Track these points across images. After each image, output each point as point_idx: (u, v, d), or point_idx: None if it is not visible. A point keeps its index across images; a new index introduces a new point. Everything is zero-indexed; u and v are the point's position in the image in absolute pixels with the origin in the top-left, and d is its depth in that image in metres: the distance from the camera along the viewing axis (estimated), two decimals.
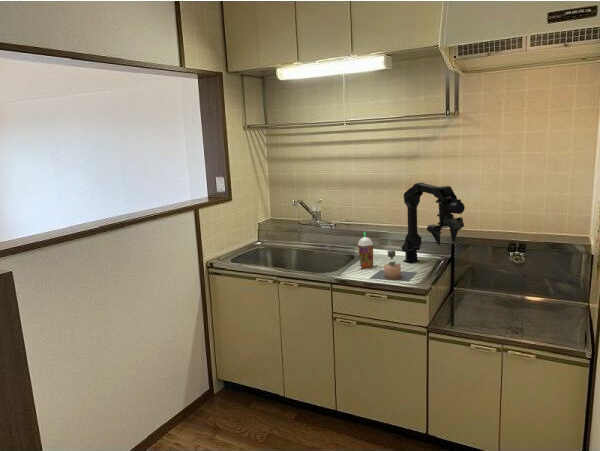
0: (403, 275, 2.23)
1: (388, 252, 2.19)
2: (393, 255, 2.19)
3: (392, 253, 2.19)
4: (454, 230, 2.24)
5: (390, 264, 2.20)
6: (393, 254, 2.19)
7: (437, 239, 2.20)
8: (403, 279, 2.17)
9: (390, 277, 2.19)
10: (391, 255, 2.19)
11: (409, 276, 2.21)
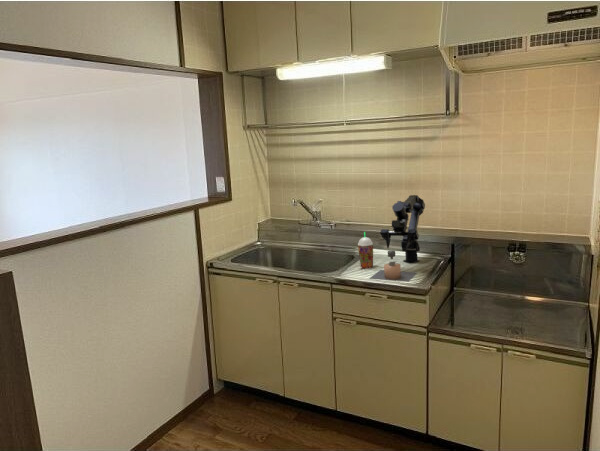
0: (403, 275, 2.23)
1: (388, 252, 2.19)
2: (393, 255, 2.19)
3: (392, 253, 2.19)
4: None
5: (390, 264, 2.20)
6: (393, 254, 2.19)
7: None
8: (403, 279, 2.17)
9: (390, 277, 2.19)
10: (391, 255, 2.19)
11: (409, 276, 2.21)
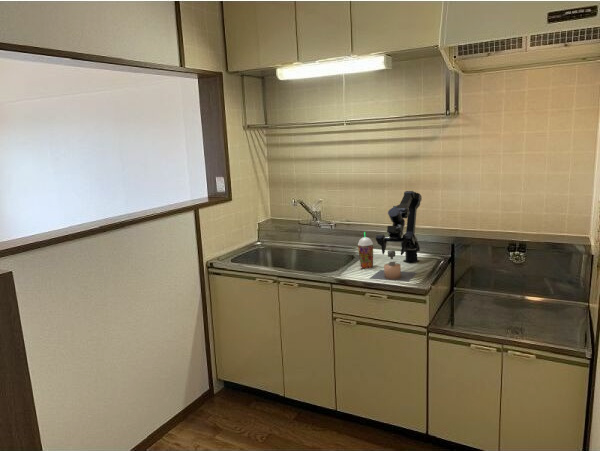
0: (403, 275, 2.23)
1: (388, 252, 2.19)
2: (393, 255, 2.19)
3: (392, 253, 2.19)
4: None
5: (390, 264, 2.20)
6: (393, 254, 2.19)
7: None
8: (403, 279, 2.17)
9: (390, 277, 2.19)
10: (391, 255, 2.19)
11: (409, 276, 2.21)
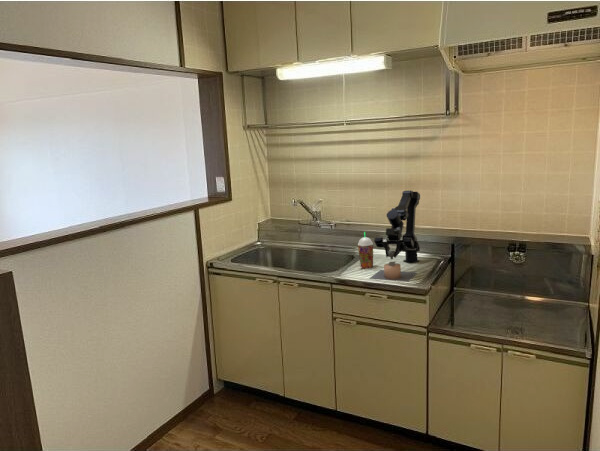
0: (403, 275, 2.23)
1: (388, 252, 2.19)
2: (393, 255, 2.19)
3: (392, 253, 2.19)
4: None
5: (390, 264, 2.20)
6: (393, 254, 2.19)
7: (385, 251, 2.22)
8: (403, 279, 2.17)
9: (390, 277, 2.19)
10: (391, 255, 2.19)
11: (409, 276, 2.21)
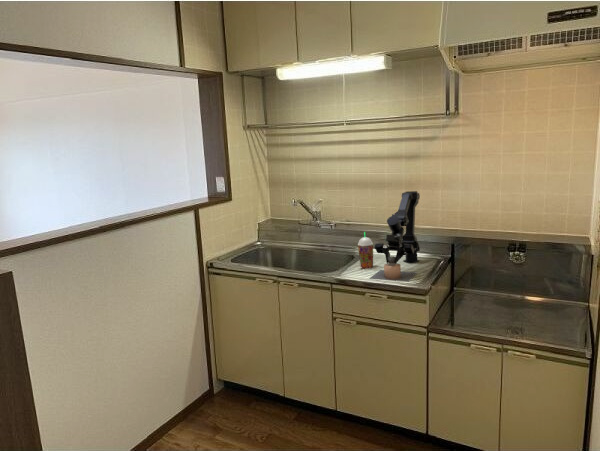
0: (403, 275, 2.23)
1: (388, 258, 2.20)
2: (393, 261, 2.19)
3: (392, 259, 2.19)
4: None
5: (390, 264, 2.20)
6: (393, 260, 2.19)
7: (386, 257, 2.23)
8: (403, 279, 2.17)
9: (390, 277, 2.19)
10: (391, 261, 2.19)
11: (409, 276, 2.21)
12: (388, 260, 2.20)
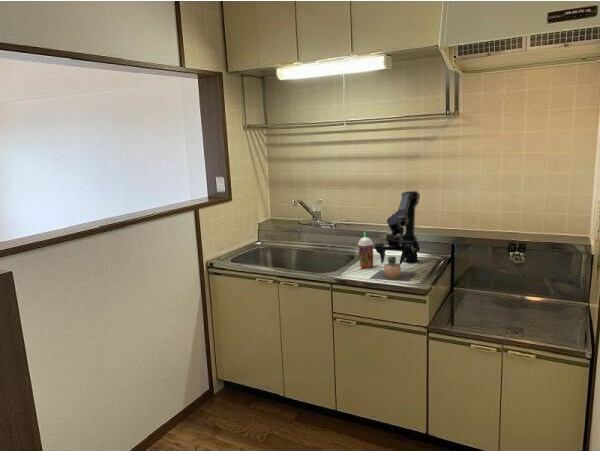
0: (403, 275, 2.23)
1: (388, 258, 2.20)
2: (393, 261, 2.19)
3: (392, 259, 2.19)
4: None
5: (390, 264, 2.20)
6: (393, 260, 2.19)
7: None
8: (403, 279, 2.17)
9: (390, 277, 2.19)
10: (391, 261, 2.19)
11: (409, 276, 2.21)
12: (388, 260, 2.20)
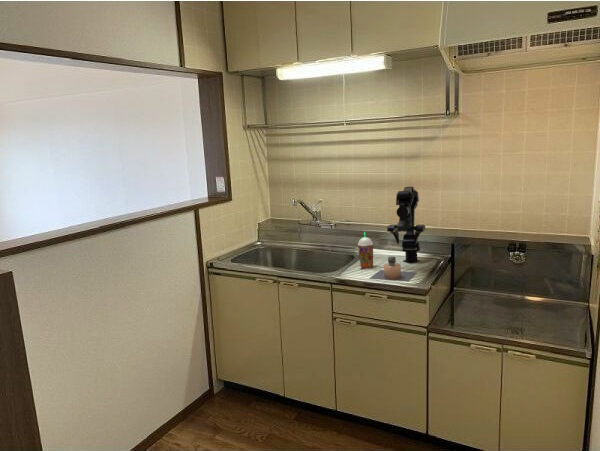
0: (403, 275, 2.23)
1: (388, 258, 2.20)
2: (393, 261, 2.19)
3: (392, 259, 2.19)
4: None
5: (390, 264, 2.20)
6: (393, 260, 2.19)
7: None
8: (403, 279, 2.17)
9: (390, 277, 2.19)
10: (391, 261, 2.19)
11: (409, 276, 2.21)
12: (388, 260, 2.20)
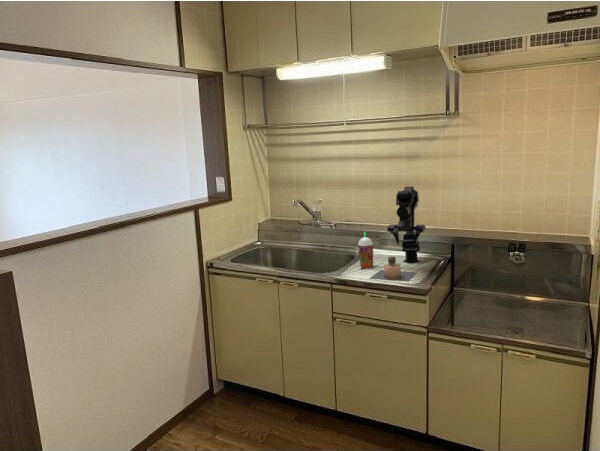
0: (403, 275, 2.23)
1: (388, 258, 2.20)
2: (393, 261, 2.19)
3: (392, 259, 2.19)
4: None
5: (390, 264, 2.20)
6: (393, 260, 2.19)
7: None
8: (403, 279, 2.17)
9: (390, 277, 2.19)
10: (391, 261, 2.19)
11: (409, 276, 2.21)
12: (388, 260, 2.20)
